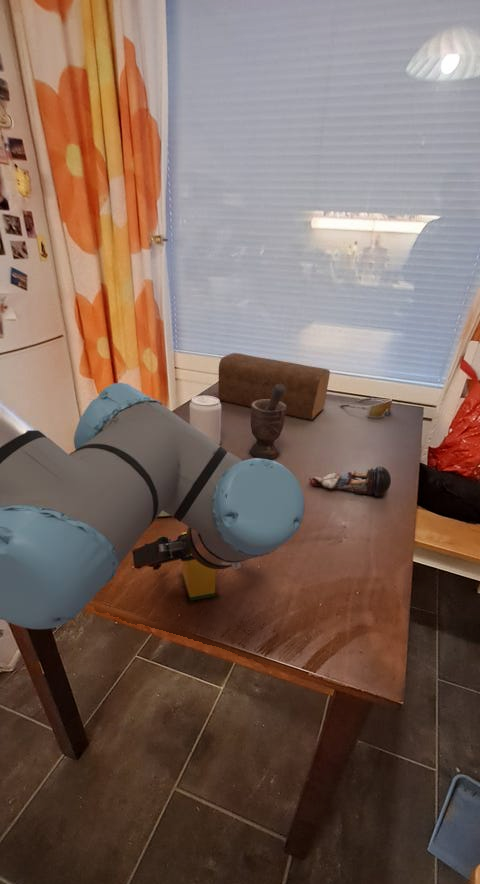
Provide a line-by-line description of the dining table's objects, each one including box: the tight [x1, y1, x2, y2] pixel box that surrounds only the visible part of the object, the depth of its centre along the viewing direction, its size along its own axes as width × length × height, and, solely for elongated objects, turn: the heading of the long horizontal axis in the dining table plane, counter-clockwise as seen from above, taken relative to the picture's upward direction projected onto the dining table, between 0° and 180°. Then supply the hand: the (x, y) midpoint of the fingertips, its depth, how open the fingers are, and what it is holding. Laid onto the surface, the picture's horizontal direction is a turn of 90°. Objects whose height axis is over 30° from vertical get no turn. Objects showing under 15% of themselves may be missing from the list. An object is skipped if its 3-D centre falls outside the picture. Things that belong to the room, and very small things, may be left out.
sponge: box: [181, 531, 217, 602], centre depth 66 cm, size 4×6×9 cm, turn 18°
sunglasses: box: [340, 397, 393, 419], centre depth 142 cm, size 14×15×5 cm
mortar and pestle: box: [249, 384, 286, 460], centre depth 103 cm, size 12×9×20 cm
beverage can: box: [189, 395, 222, 446], centre depth 110 cm, size 8×8×12 cm
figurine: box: [308, 465, 392, 497], centre depth 96 cm, size 8×7×18 cm
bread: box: [217, 352, 331, 421], centre depth 138 cm, size 14×34×14 cm, turn 65°
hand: (195, 555), depth 67 cm, fingers open, 12 cm apart
